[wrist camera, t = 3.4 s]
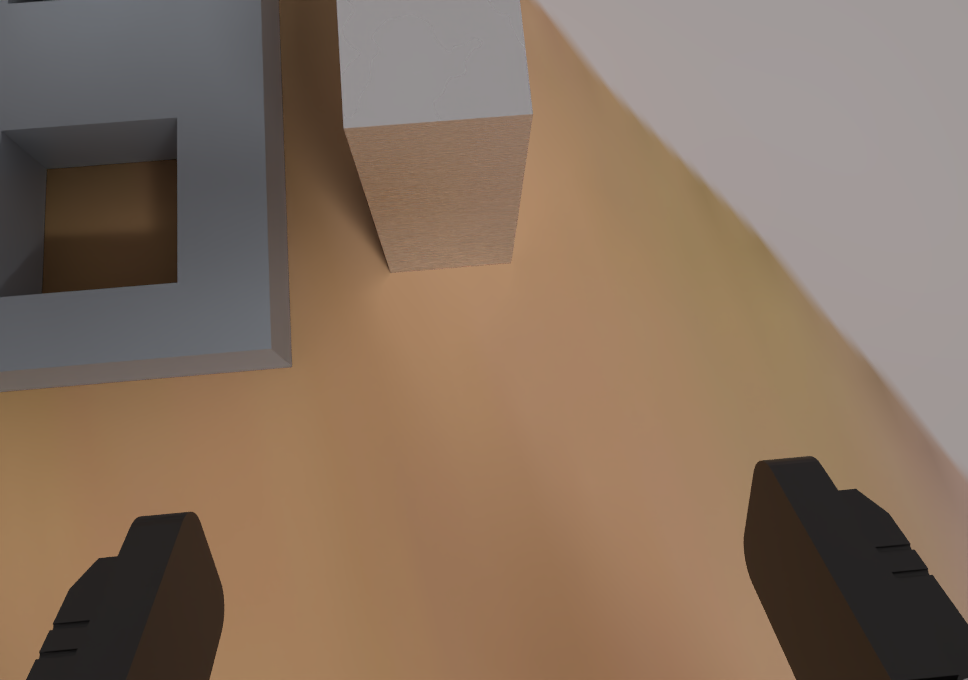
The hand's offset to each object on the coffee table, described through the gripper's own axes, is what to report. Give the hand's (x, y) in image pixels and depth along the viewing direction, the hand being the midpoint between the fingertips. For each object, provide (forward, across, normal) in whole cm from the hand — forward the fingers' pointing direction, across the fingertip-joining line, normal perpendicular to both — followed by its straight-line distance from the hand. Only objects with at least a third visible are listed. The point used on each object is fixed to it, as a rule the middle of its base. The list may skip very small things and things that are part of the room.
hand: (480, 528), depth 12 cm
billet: (+20, 0, +3) cm, 20 cm away
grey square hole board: (+24, +12, -1) cm, 27 cm away
